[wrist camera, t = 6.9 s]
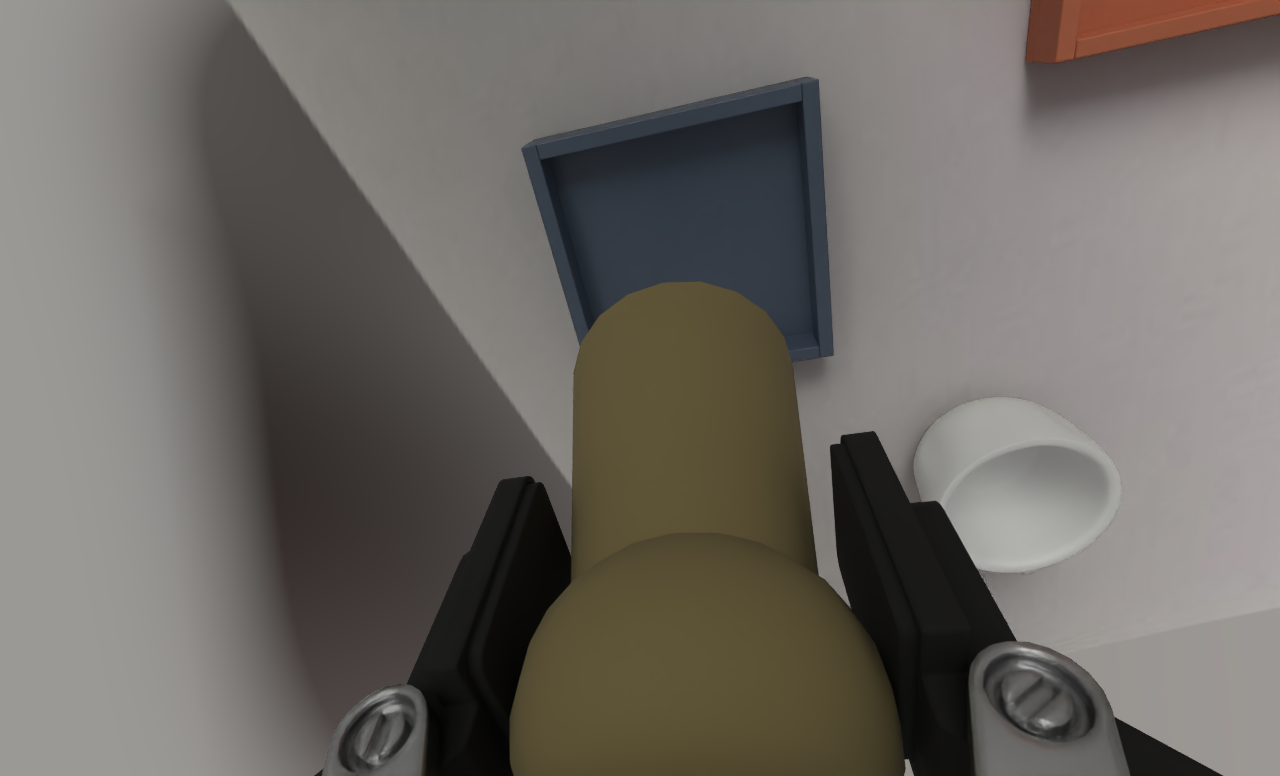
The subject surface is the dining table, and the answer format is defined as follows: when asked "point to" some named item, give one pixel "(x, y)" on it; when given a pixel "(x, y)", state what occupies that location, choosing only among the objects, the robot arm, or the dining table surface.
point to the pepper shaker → (696, 568)
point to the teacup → (1017, 483)
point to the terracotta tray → (1127, 23)
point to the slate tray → (695, 207)
